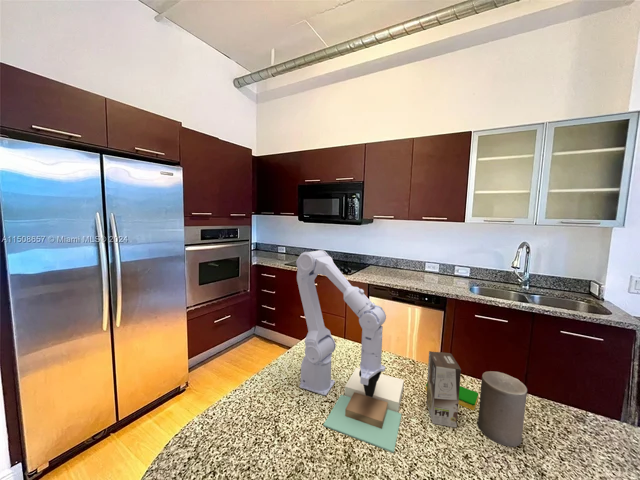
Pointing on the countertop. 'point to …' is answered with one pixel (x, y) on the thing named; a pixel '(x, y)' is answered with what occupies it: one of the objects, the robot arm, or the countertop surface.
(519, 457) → the countertop surface
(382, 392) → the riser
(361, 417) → the walnut coaster
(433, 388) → the coffee box
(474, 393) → the dish sponge
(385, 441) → the sage mat
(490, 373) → the pillar candle
